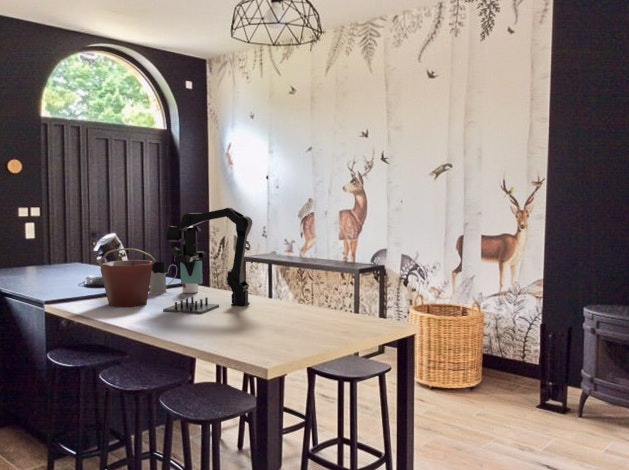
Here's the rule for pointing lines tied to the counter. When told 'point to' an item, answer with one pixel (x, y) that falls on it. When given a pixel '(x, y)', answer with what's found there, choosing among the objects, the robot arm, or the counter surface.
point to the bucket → (126, 280)
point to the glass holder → (159, 278)
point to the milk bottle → (189, 288)
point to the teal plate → (196, 274)
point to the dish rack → (191, 306)
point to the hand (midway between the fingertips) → (191, 275)
